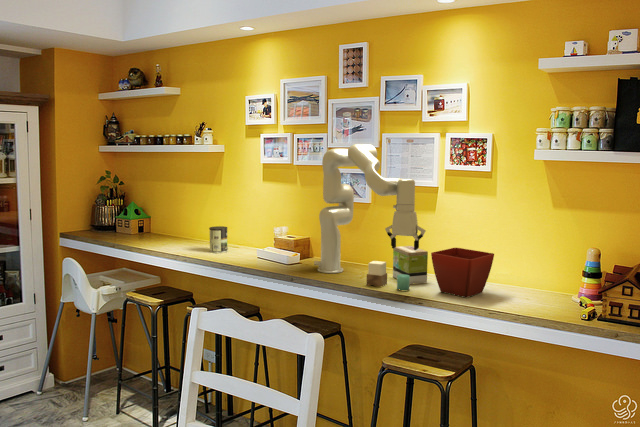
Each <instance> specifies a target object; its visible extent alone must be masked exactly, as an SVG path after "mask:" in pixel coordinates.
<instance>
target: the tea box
mask: <svg viewBox="0 0 640 427" xmlns="http://www.w3.org/2000/svg"><path fill="white" fill-rule="evenodd" d="M392 249H393V252H392V254H393V255H392V256H393V257H392V278H394V279H397V275H399V274H405V275H409V276H410V281H409V285H414V284H413V283H420V284H426V283H428V261H429V260H428V259H429V257H428V253H429V252H428V250H424V249H421V248H420V247H419V248H418V249H417V250H414V245H403V246H396V247H395V248H392Z"/></svg>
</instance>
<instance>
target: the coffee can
mask: <svg viewBox="0 0 640 427" xmlns="http://www.w3.org/2000/svg"><path fill="white" fill-rule="evenodd" d="M228 249H229V248H228V226H220V225H219V226H210V227H209V252H210V253H212V254H223V253H228V252H229V251H228Z"/></svg>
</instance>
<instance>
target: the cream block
mask: <svg viewBox="0 0 640 427" xmlns="http://www.w3.org/2000/svg"><path fill="white" fill-rule="evenodd" d="M367 265H368V266H367V268H368V269H367V270H368V272H367V274H370V275H378V276H382V275H384V274H386V273H387V261H380V260H379V261H378V260H372V261H370V262H368V264H367Z"/></svg>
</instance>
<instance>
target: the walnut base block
mask: <svg viewBox="0 0 640 427" xmlns="http://www.w3.org/2000/svg"><path fill="white" fill-rule="evenodd" d="M365 284H366V286H368V285H374V286H373V287H376V286H383V285H384V286H386V285H388V272H386V274H384V275H382V276H378V275H370V274H368V273H366V283H365ZM385 284H386V285H385ZM384 286H383V287H384Z"/></svg>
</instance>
